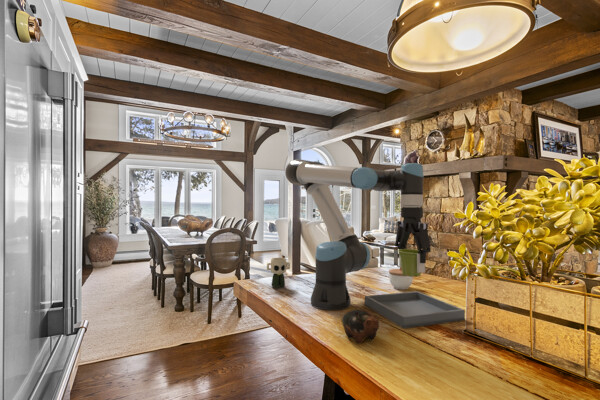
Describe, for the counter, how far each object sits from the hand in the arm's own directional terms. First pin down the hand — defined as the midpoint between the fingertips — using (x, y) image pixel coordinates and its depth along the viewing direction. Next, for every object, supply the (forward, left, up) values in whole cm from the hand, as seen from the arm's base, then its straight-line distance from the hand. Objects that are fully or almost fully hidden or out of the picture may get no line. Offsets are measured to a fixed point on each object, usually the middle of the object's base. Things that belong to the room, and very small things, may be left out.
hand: (411, 269), depth 115 cm
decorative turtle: (-28, -14, -16) cm, 35 cm away
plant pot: (0, 0, -2) cm, 2 cm away
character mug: (-37, +47, -16) cm, 62 cm away
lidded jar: (+17, +30, -16) cm, 38 cm away
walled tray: (0, 0, -15) cm, 15 cm away
